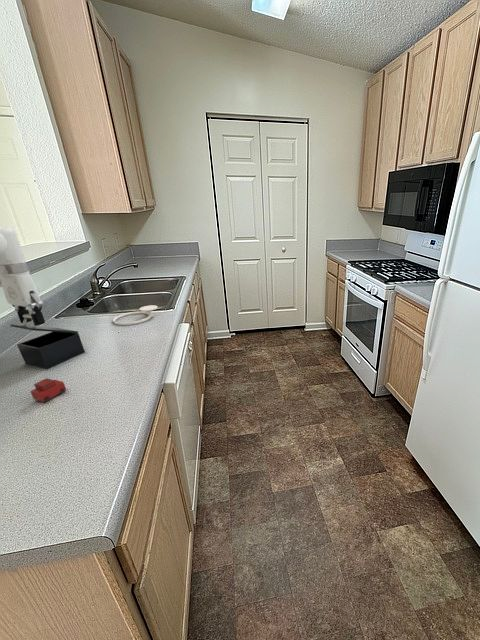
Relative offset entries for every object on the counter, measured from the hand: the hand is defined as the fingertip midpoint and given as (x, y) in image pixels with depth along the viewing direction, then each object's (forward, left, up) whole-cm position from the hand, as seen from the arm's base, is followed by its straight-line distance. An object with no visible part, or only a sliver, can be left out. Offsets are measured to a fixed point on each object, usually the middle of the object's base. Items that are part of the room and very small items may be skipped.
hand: (33, 322), depth 112 cm
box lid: (+2, +2, -4) cm, 5 cm away
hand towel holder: (+29, +36, -15) cm, 48 cm away
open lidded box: (+2, +2, -15) cm, 15 cm away
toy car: (+6, -28, -15) cm, 32 cm away
